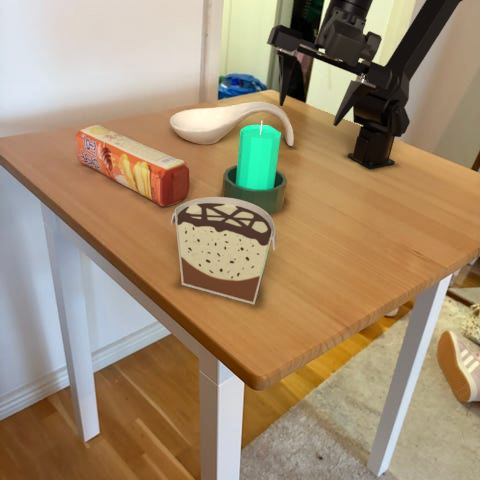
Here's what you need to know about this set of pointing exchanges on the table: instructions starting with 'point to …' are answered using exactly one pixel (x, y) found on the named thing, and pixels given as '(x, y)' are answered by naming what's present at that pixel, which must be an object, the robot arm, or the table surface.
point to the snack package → (134, 164)
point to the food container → (223, 246)
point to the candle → (257, 156)
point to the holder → (255, 191)
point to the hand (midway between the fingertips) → (307, 115)
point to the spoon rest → (222, 121)
